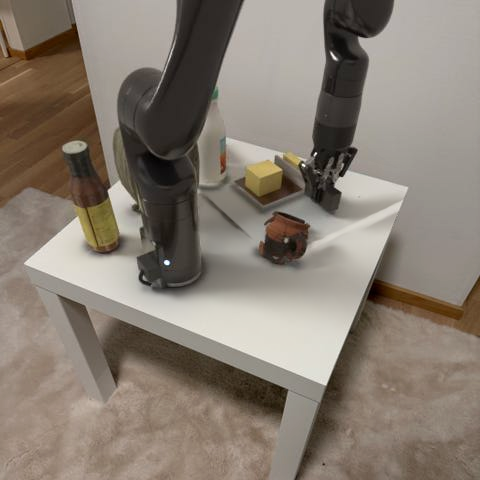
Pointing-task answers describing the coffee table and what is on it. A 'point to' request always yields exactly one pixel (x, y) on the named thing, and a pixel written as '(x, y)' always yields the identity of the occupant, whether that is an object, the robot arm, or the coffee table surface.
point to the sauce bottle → (91, 199)
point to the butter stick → (263, 177)
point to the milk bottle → (212, 145)
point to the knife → (329, 192)
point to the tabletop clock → (126, 175)
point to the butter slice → (292, 160)
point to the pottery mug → (278, 231)
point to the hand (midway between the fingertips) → (320, 198)
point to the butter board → (286, 190)
